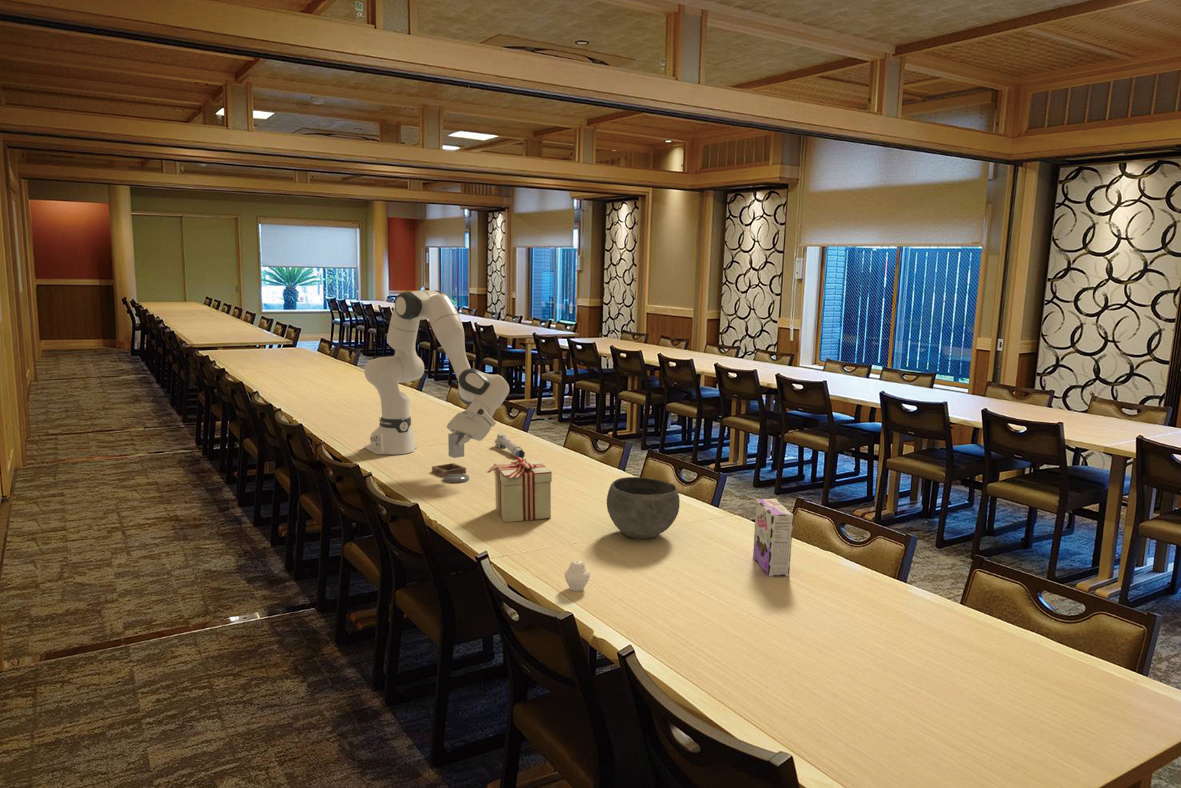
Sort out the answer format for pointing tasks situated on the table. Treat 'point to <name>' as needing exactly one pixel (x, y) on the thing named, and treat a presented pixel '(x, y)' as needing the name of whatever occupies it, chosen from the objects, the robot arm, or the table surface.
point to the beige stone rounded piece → (577, 576)
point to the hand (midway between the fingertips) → (454, 444)
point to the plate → (456, 478)
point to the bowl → (642, 506)
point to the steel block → (455, 445)
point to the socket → (445, 468)
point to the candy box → (773, 537)
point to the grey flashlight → (508, 445)
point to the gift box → (522, 490)
